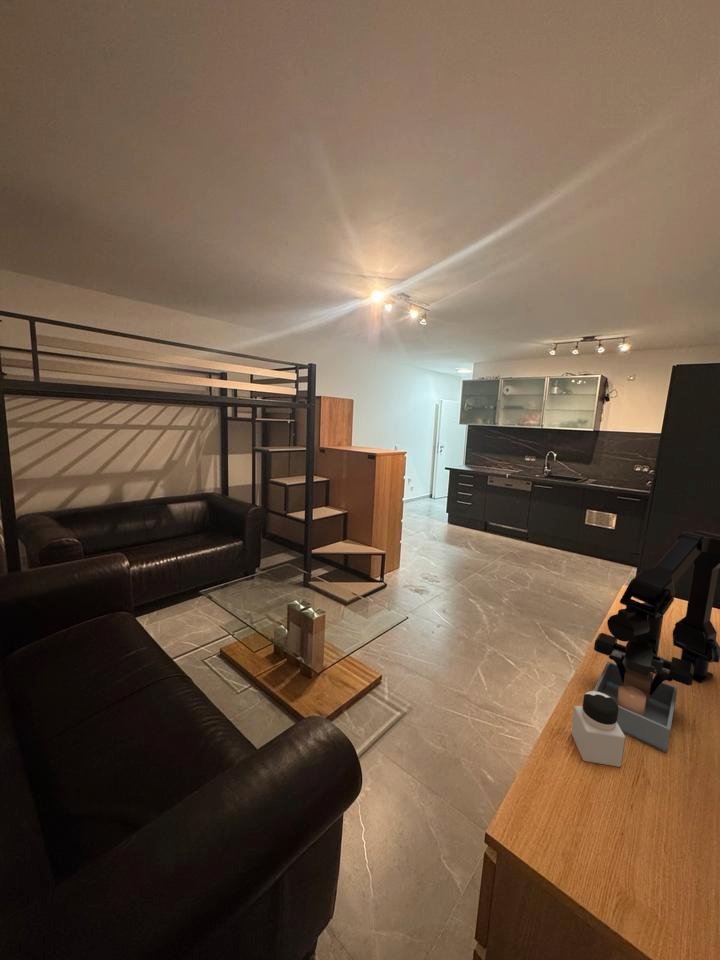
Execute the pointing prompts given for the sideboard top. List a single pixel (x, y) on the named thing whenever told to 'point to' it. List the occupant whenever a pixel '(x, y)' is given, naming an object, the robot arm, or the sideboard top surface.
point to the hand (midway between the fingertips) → (637, 688)
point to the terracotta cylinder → (632, 699)
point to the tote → (657, 710)
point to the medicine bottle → (598, 730)
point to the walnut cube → (639, 682)
